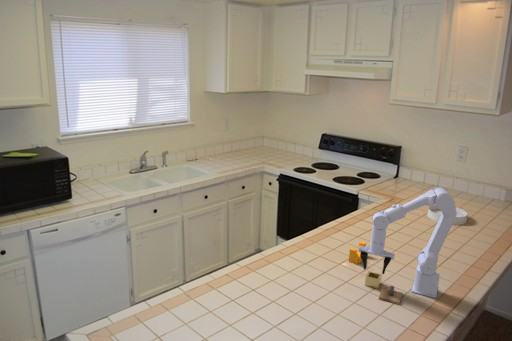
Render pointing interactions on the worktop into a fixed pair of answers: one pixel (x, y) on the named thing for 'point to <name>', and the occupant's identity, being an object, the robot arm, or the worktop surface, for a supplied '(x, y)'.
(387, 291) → the shaft block
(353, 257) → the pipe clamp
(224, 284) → the worktop surface
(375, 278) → the collar
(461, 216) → the dish
